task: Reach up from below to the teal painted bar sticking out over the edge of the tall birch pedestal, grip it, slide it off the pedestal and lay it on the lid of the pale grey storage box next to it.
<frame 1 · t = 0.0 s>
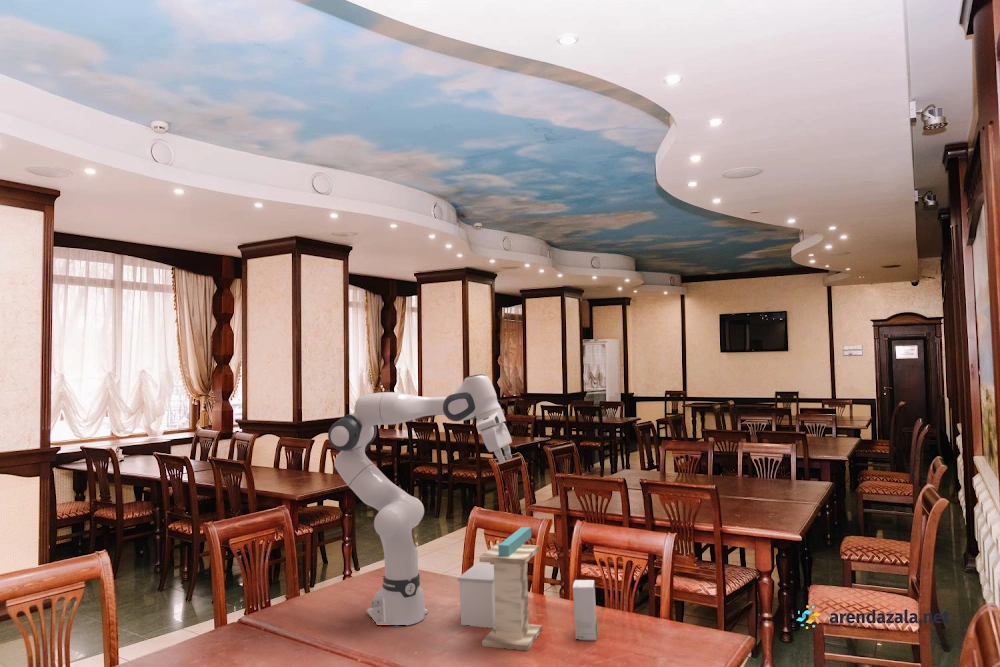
hand: (506, 461, 215), 52 cm above the table, tool tilted 20°, fingers open, 8 cm apart
birch pedestal: (512, 638, 201), on the table
skincare box: (585, 636, 202), on the table
teal bar: (515, 546, 209), point 26 cm above the table, touching birch pedestal
grey storage box: (485, 617, 219), on the table
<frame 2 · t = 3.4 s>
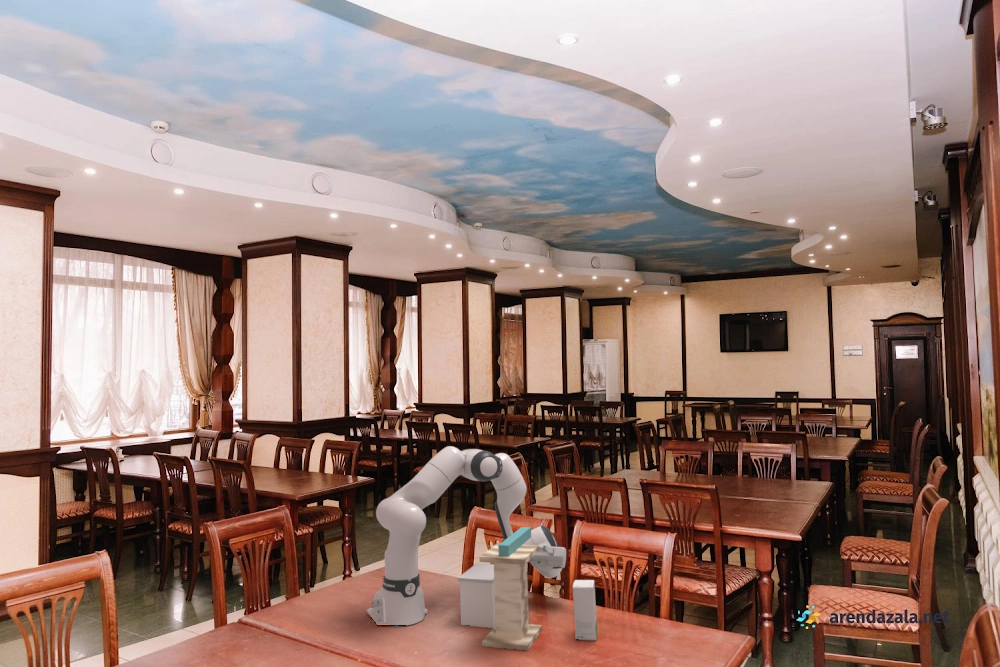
hand: (531, 546, 225), 21 cm above the table, tool pointing upward, fingers open, 8 cm apart
nothing on the table moved.
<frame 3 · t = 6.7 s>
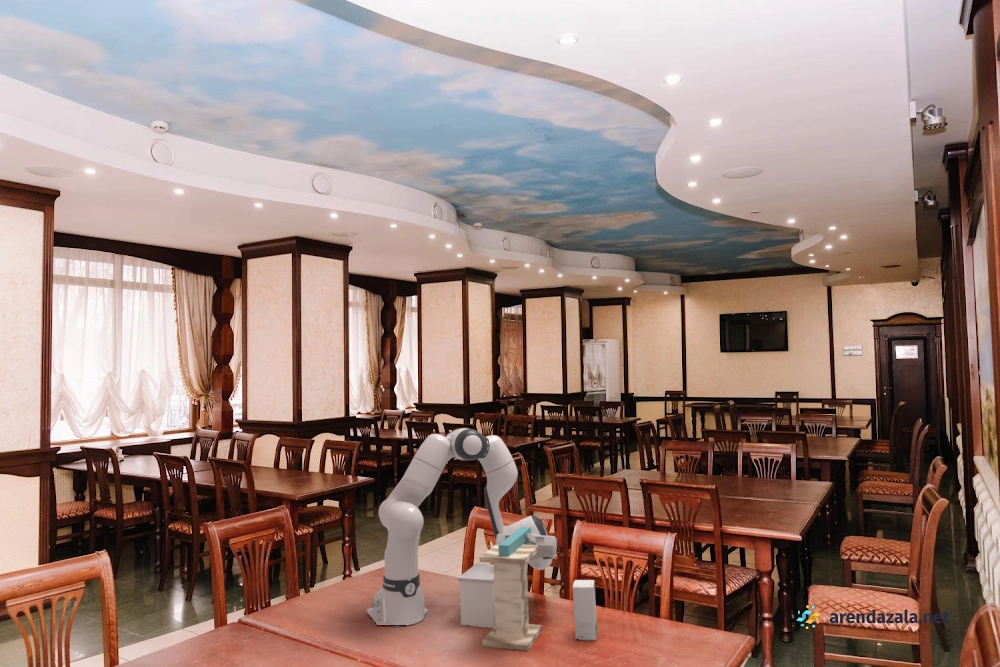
hand: (520, 535, 214), 28 cm above the table, tool pointing upward, fingers closed on teal bar, 3 cm apart
teal bar: (515, 546, 209), point 26 cm above the table, touching birch pedestal, gripper
everything else where it was.
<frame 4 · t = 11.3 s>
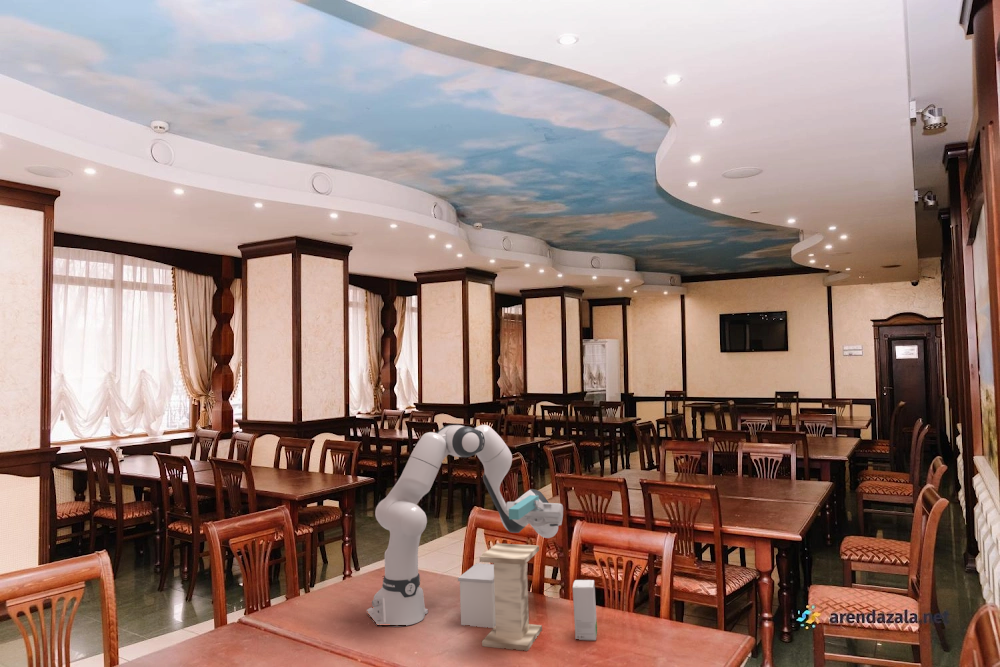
hand: (528, 502, 226), 36 cm above the table, tool pointing upward, fingers closed on teal bar, 3 cm apart
teal bar: (524, 511, 221), point 34 cm above the table, touching gripper
everything else where it was.
when the fingers open (19 cm above the table, at t = 16.0 s): teal bar drops 2 cm, resting on grey storage box.
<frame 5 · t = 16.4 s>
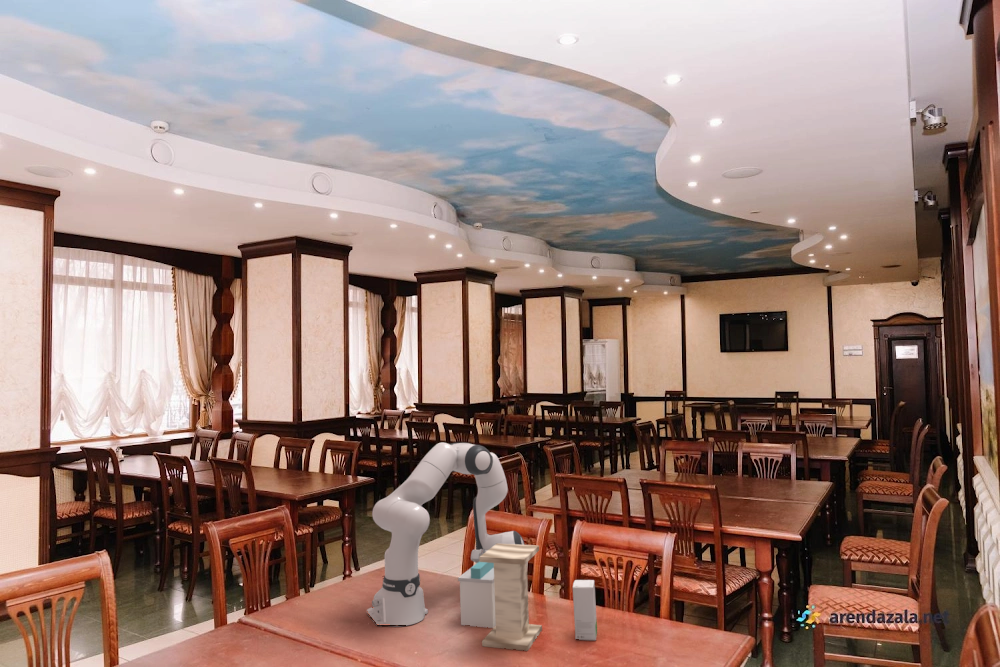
hand: (492, 551, 229), 19 cm above the table, tool pointing upward, fingers open, 7 cm apart
teal bar: (488, 567, 224), point 15 cm above the table, touching grey storage box
everything else where it was.
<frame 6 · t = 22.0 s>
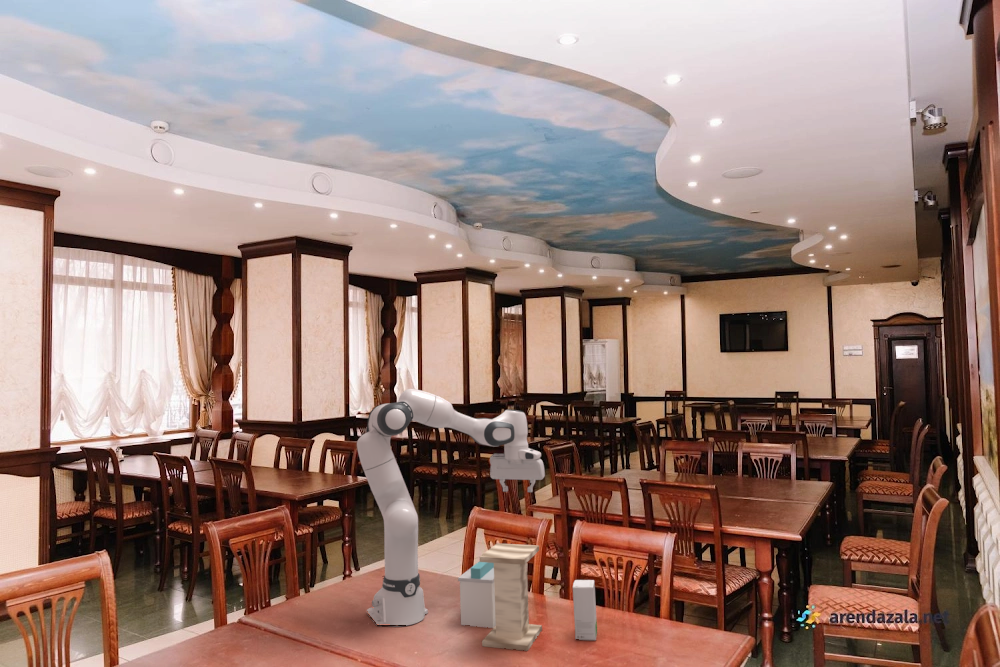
hand: (517, 491, 242), 37 cm above the table, tool pointing down, fingers open, 8 cm apart
nothing on the table moved.
at the end: teal bar inside the target area on the grey storage box (0.4 cm from its centre), point 15.0 cm above the grey storage box's base; teal bar tilted 0°; the gripper is holding nothing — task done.
